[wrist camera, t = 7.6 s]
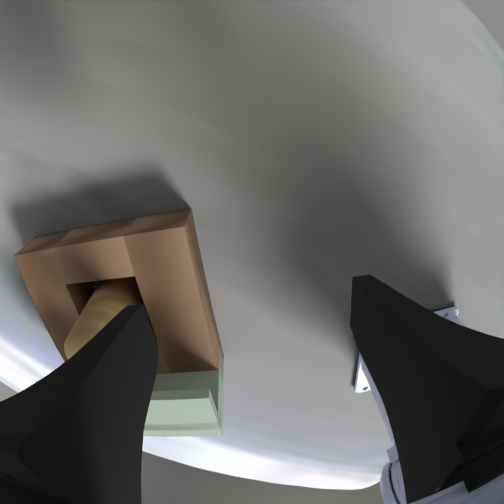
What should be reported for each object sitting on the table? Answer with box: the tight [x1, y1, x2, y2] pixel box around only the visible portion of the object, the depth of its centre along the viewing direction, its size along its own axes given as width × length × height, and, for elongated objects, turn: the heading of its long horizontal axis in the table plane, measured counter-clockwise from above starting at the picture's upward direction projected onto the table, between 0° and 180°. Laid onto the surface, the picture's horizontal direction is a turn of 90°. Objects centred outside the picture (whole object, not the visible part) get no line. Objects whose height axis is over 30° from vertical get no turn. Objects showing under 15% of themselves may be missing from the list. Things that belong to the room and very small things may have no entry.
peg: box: [64, 276, 145, 359], centre depth 18 cm, size 4×4×7 cm
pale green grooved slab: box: [143, 344, 224, 436], centre depth 20 cm, size 12×4×8 cm, turn 97°
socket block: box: [14, 209, 224, 374], centre depth 21 cm, size 12×12×3 cm
